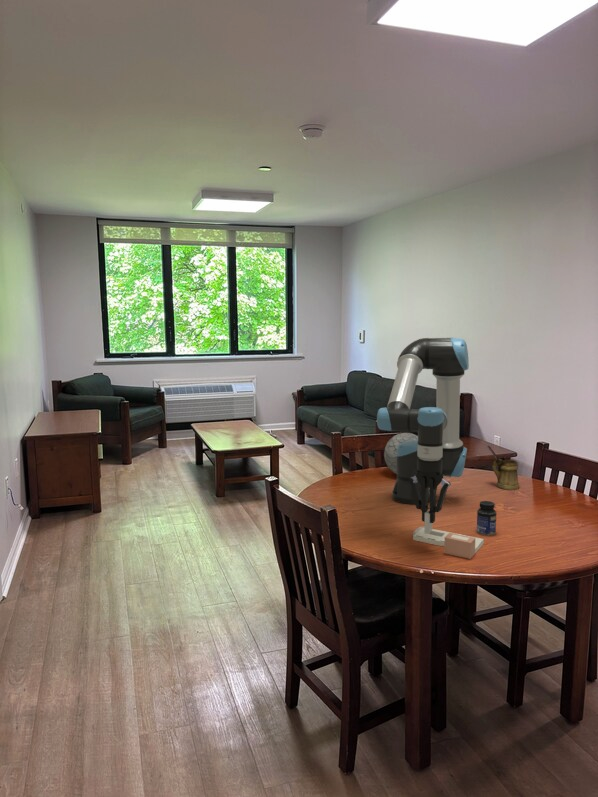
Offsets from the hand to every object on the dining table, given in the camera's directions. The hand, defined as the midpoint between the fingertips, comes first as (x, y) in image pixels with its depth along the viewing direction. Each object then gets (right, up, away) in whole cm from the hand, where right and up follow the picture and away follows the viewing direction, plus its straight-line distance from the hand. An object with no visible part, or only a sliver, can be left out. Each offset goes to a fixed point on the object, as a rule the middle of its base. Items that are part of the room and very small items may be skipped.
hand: (428, 531), depth 177 cm
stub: (+9, -5, -5) cm, 11 cm away
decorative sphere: (+9, +6, +84) cm, 85 cm away
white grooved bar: (+7, -4, +5) cm, 10 cm away
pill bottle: (+22, -4, +12) cm, 26 cm away
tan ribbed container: (+47, +4, +65) cm, 80 cm away
